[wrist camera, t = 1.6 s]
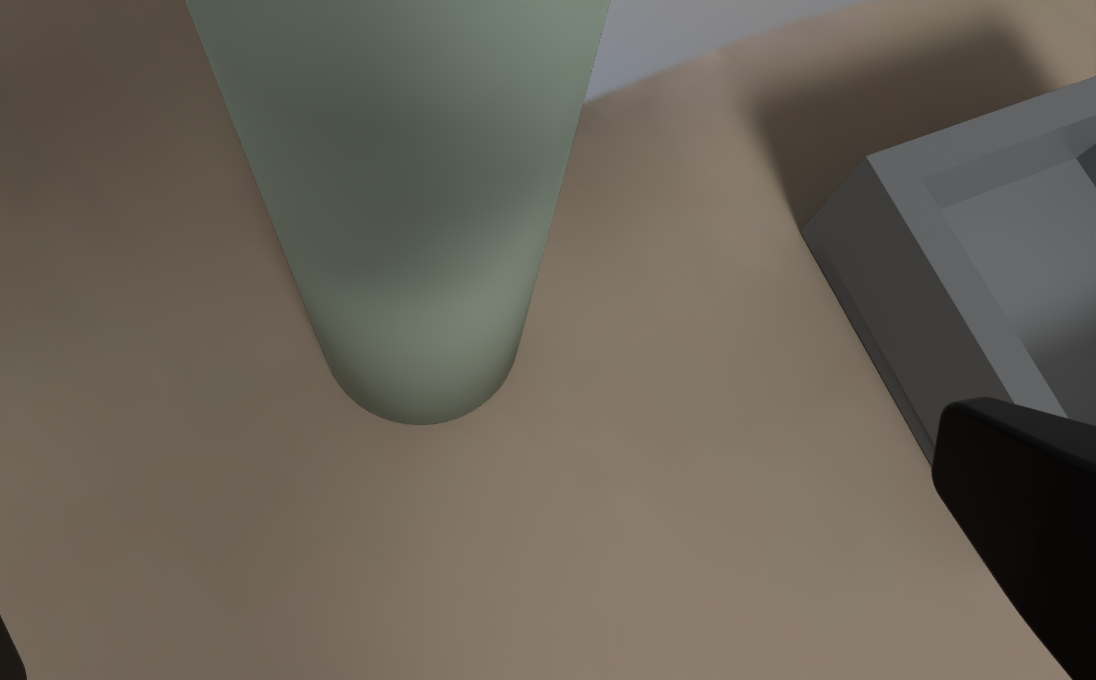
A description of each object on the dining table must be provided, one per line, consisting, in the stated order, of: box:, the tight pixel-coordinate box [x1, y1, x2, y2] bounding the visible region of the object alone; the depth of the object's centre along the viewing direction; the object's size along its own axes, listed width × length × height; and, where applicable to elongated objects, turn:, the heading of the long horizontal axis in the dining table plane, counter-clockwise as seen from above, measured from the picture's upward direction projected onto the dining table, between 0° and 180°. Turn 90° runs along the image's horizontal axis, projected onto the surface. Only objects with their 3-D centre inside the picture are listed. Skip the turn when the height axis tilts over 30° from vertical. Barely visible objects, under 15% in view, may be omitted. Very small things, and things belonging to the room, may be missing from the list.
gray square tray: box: [800, 76, 1096, 466], centre depth 22 cm, size 10×10×4 cm
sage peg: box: [185, 0, 610, 425], centre depth 16 cm, size 5×5×13 cm
